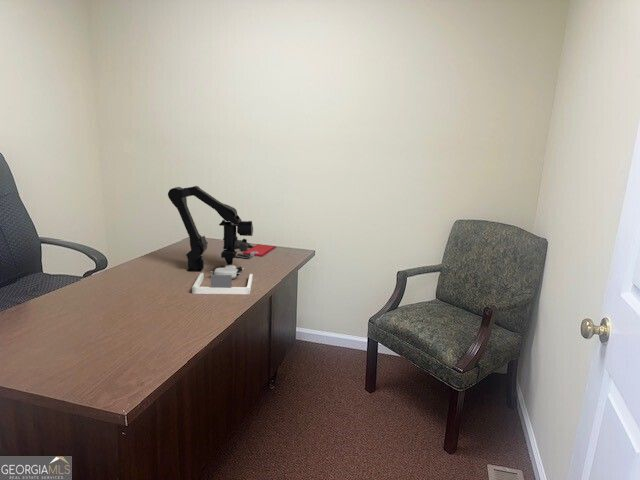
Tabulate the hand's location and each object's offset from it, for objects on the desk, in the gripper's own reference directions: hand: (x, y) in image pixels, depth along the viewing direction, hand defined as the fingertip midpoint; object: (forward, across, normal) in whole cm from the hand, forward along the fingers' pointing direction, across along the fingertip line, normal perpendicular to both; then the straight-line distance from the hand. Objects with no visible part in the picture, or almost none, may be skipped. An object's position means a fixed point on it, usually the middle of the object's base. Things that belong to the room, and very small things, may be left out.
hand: (230, 267), depth 197 cm
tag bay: (+1, -21, 0) cm, 21 cm away
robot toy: (+2, -8, 0) cm, 9 cm away
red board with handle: (+3, +36, -10) cm, 37 cm away
